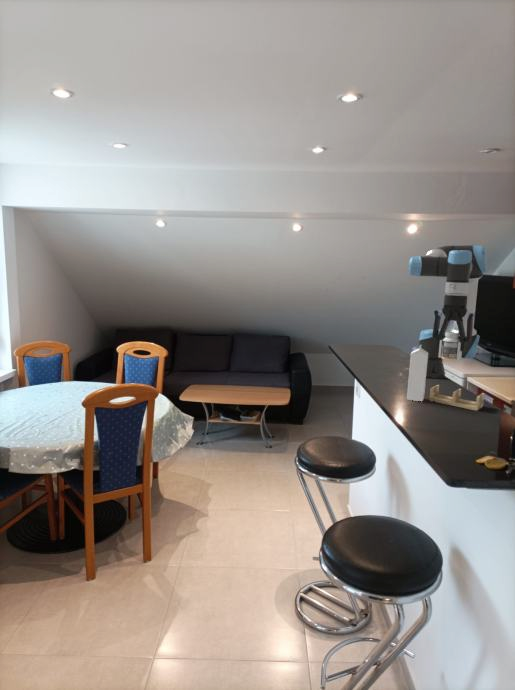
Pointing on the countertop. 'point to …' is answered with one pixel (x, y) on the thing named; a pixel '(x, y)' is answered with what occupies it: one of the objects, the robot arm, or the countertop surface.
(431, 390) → the rack
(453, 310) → the robot arm
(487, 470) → the countertop surface
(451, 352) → the pill bottle
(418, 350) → the milk
